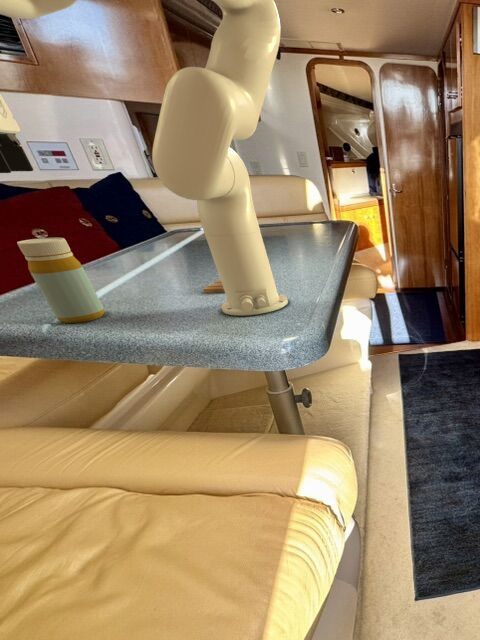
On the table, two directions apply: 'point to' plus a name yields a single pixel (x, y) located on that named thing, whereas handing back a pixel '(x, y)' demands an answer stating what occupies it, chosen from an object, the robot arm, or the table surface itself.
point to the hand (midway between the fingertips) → (10, 172)
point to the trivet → (214, 288)
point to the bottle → (61, 280)
